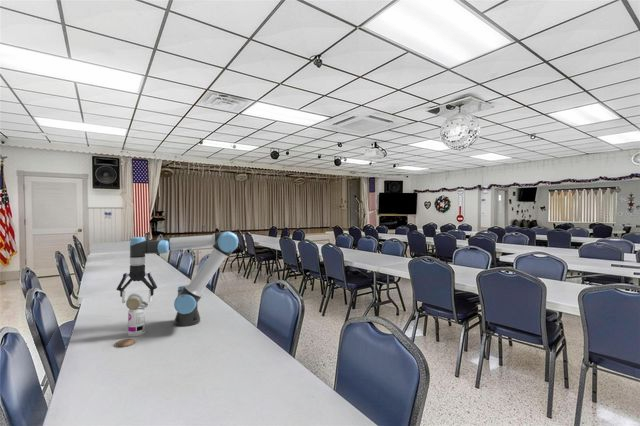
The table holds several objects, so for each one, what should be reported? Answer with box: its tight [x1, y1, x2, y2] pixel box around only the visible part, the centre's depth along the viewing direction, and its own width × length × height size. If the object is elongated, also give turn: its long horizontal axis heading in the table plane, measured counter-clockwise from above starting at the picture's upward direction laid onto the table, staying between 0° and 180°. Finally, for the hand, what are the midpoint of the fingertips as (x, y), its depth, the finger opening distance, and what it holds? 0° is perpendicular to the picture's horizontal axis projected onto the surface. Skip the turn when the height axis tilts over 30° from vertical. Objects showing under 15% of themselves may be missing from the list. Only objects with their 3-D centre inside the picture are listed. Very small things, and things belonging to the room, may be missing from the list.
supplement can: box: [127, 306, 146, 338], centre depth 178 cm, size 8×8×15 cm
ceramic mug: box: [125, 292, 149, 310], centre depth 178 cm, size 11×8×8 cm
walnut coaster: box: [115, 338, 137, 348], centre depth 165 cm, size 9×9×1 cm
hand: (137, 302), depth 178 cm, fingers open, 13 cm apart
